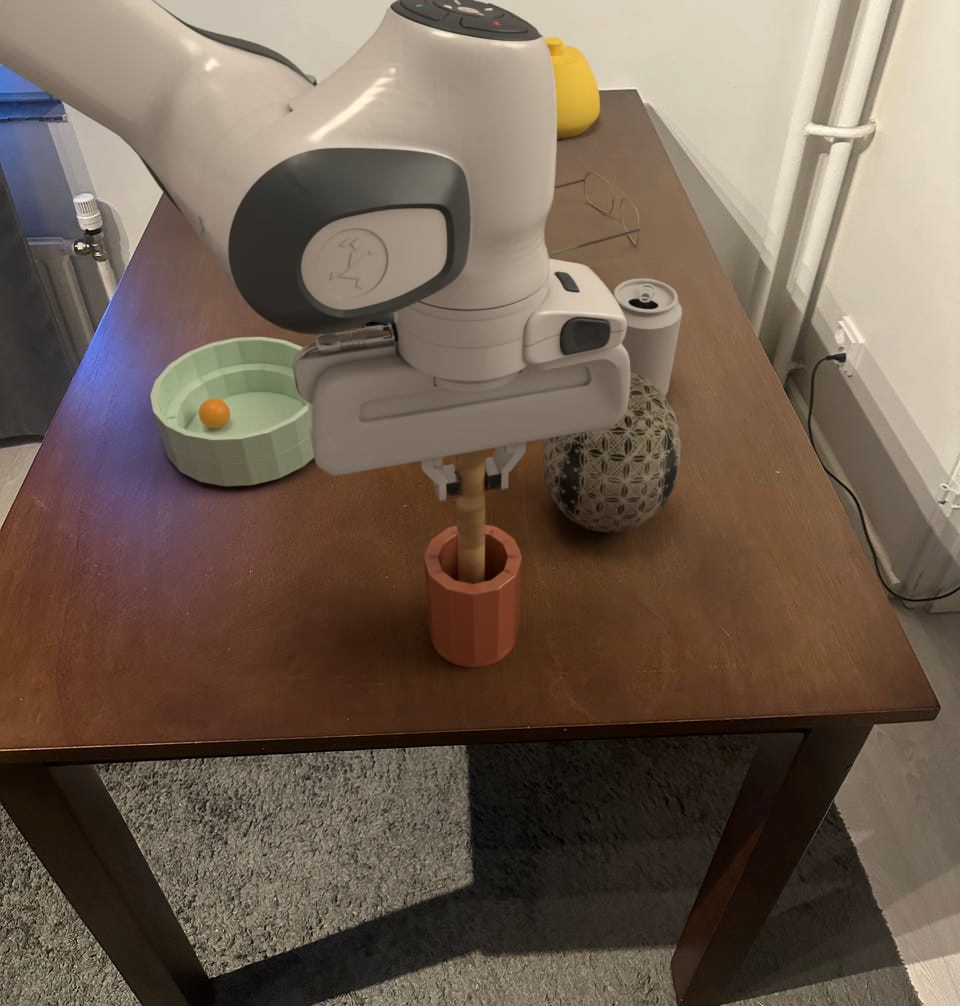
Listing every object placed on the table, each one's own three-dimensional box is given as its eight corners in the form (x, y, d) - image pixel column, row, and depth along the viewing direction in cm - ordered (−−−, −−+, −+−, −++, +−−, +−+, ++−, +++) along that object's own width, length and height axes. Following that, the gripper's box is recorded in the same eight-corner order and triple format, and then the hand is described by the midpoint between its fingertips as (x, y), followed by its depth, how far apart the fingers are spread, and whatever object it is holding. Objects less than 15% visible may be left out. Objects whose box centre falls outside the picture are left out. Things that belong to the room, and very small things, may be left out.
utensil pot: (419, 657, 70) (413, 582, 64) (444, 591, 75) (440, 515, 69) (505, 676, 69) (508, 601, 62) (525, 607, 74) (529, 532, 67)
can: (589, 406, 93) (600, 306, 84) (603, 366, 98) (614, 268, 90) (661, 419, 91) (679, 319, 83) (671, 378, 96) (689, 279, 88)
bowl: (136, 475, 85) (117, 423, 81) (214, 378, 97) (201, 327, 92) (293, 505, 82) (282, 452, 78) (355, 401, 94) (348, 349, 89)
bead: (196, 432, 89) (190, 408, 87) (210, 413, 91) (204, 390, 89) (224, 436, 88) (218, 413, 86) (237, 418, 90) (232, 394, 88)
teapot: (609, 139, 142) (617, 54, 133) (492, 146, 140) (493, 60, 132) (581, 94, 156) (587, 14, 148) (475, 100, 155) (475, 19, 146)
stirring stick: (456, 633, 71) (451, 439, 57) (463, 614, 72) (459, 420, 58) (480, 638, 70) (481, 444, 56) (487, 619, 72) (489, 425, 58)
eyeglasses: (646, 250, 117) (651, 214, 113) (542, 272, 113) (544, 235, 109) (591, 199, 127) (594, 164, 124) (494, 217, 123) (494, 182, 120)
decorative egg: (513, 519, 81) (518, 385, 71) (588, 454, 87) (603, 323, 77) (620, 582, 76) (642, 448, 65) (692, 509, 82) (723, 376, 71)
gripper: (294, 372, 47) (325, 551, 57) (654, 317, 51) (626, 493, 60) (281, 310, 51) (312, 485, 61) (613, 263, 55) (593, 435, 65)
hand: (471, 489), depth 61 cm, fingers closed on stirring stick, 2 cm apart
